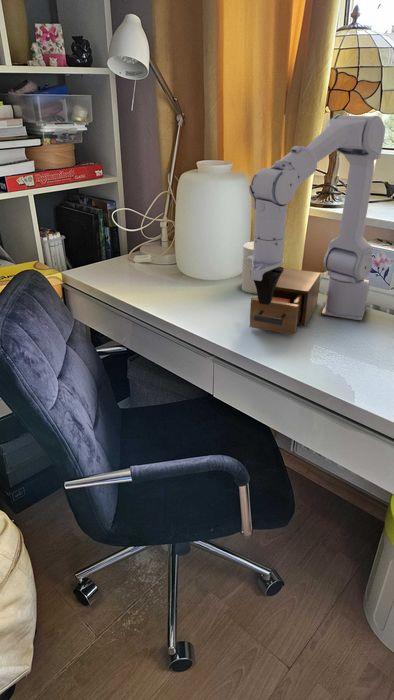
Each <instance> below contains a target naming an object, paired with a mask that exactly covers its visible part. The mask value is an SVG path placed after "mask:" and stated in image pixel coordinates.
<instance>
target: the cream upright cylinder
mask: <svg viewBox="0 0 394 700" xmlns="http://www.w3.org/2000/svg"><path fill="white" fill-rule="evenodd" d="M253 249H254V241H248V242H245V243H243V245H242V272H241V290H242V291H243V292H245V293H249V294H256V295H257V289H256V286H255V283H254V281H253V280H251V274H250V271H251V269H252V262H248V261H247V257H249V256H251V255H252V256H253Z"/></svg>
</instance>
